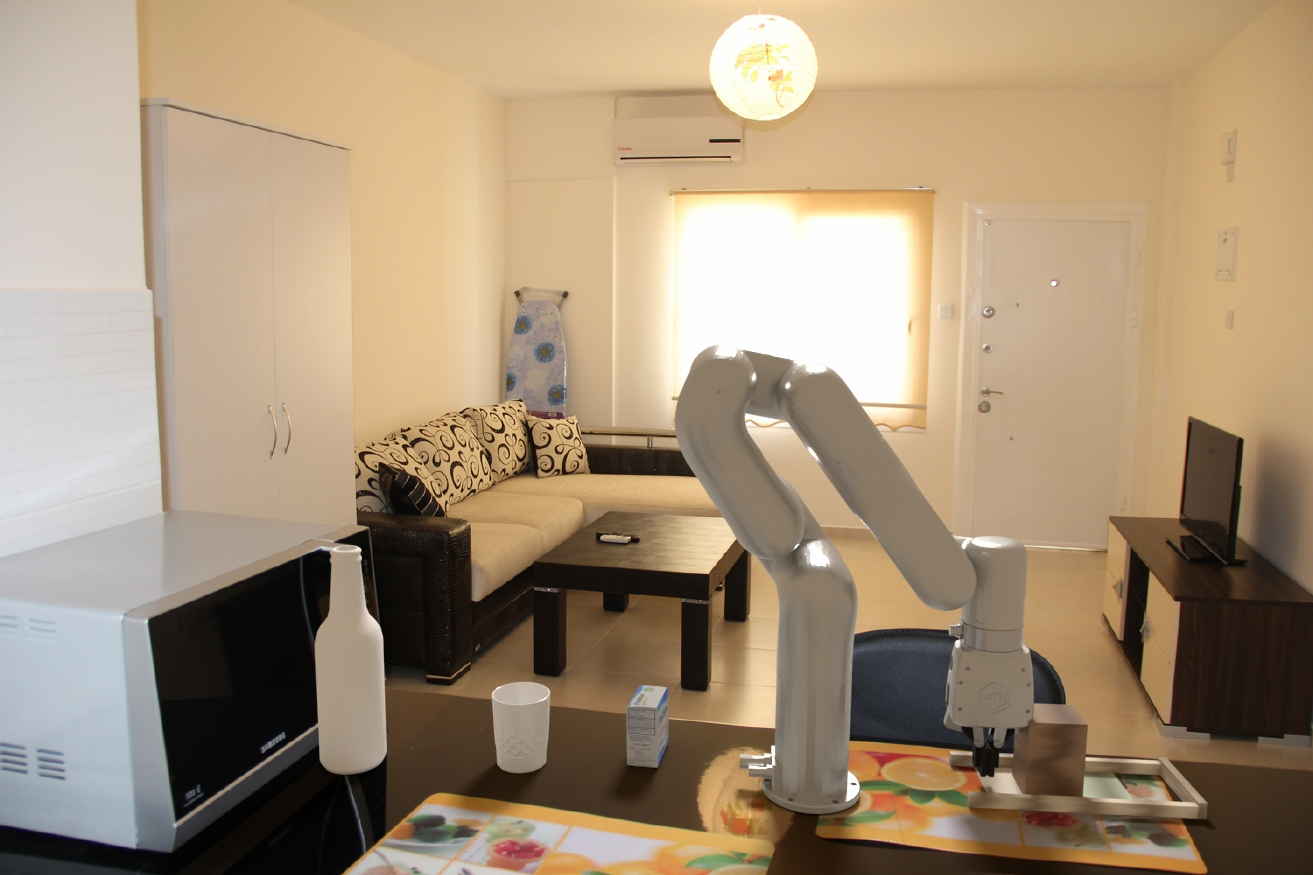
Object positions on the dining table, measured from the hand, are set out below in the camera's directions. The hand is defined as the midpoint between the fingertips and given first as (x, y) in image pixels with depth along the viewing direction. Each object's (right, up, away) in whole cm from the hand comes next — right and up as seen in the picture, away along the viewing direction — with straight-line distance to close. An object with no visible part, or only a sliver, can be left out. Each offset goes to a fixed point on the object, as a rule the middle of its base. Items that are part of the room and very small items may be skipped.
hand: (984, 771), depth 127 cm
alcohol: (-84, -2, +9) cm, 84 cm away
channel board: (+11, -3, -1) cm, 11 cm away
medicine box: (-43, -2, +11) cm, 45 cm away
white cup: (-61, -2, +9) cm, 61 cm away
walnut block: (+8, -2, 0) cm, 8 cm away
